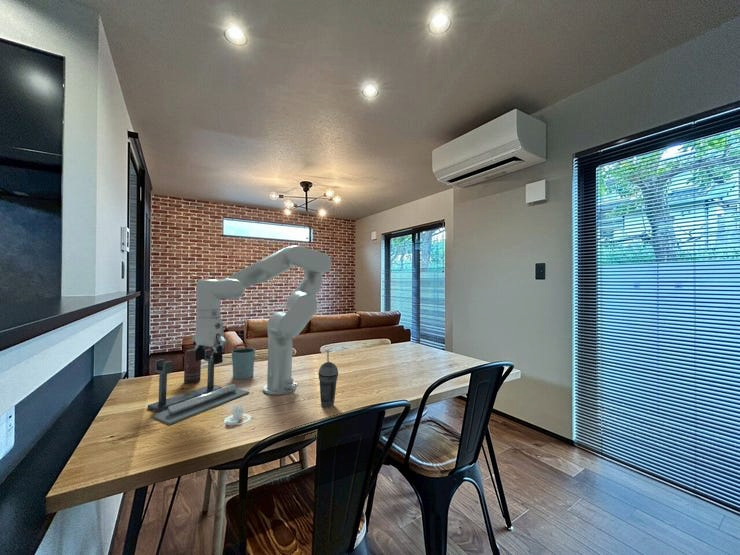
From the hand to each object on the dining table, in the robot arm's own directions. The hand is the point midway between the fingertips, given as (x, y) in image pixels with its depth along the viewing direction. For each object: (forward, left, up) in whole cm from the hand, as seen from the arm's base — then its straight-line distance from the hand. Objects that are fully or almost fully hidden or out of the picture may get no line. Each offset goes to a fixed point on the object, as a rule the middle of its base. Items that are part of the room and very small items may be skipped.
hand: (208, 361), depth 108 cm
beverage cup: (-38, -20, -15) cm, 45 cm away
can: (+26, -11, -15) cm, 32 cm away
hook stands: (+10, +1, -15) cm, 18 cm away
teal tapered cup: (+14, -27, -15) cm, 34 cm away
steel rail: (0, +1, -13) cm, 13 cm away
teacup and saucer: (-17, +5, -16) cm, 24 cm away
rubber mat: (0, +1, -15) cm, 15 cm away
